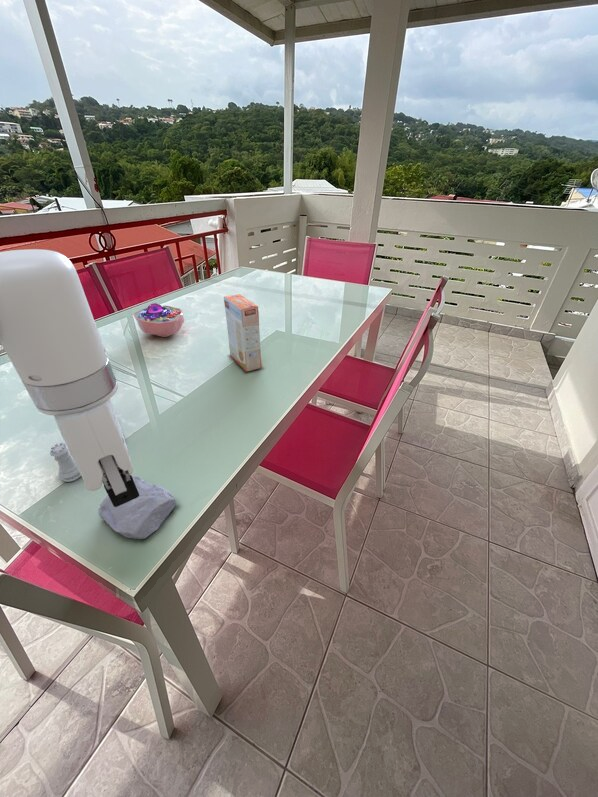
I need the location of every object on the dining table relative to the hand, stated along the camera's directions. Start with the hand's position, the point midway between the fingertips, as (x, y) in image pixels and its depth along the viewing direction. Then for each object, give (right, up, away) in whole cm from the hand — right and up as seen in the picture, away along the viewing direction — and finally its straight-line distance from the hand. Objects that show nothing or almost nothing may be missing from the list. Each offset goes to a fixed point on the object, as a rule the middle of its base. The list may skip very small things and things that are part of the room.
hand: (125, 497), depth 44 cm
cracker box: (+5, +26, +67) cm, 72 cm away
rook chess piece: (-24, -3, +25) cm, 35 cm away
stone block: (-7, -9, +18) cm, 21 cm away
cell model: (-30, +39, +86) cm, 99 cm away
